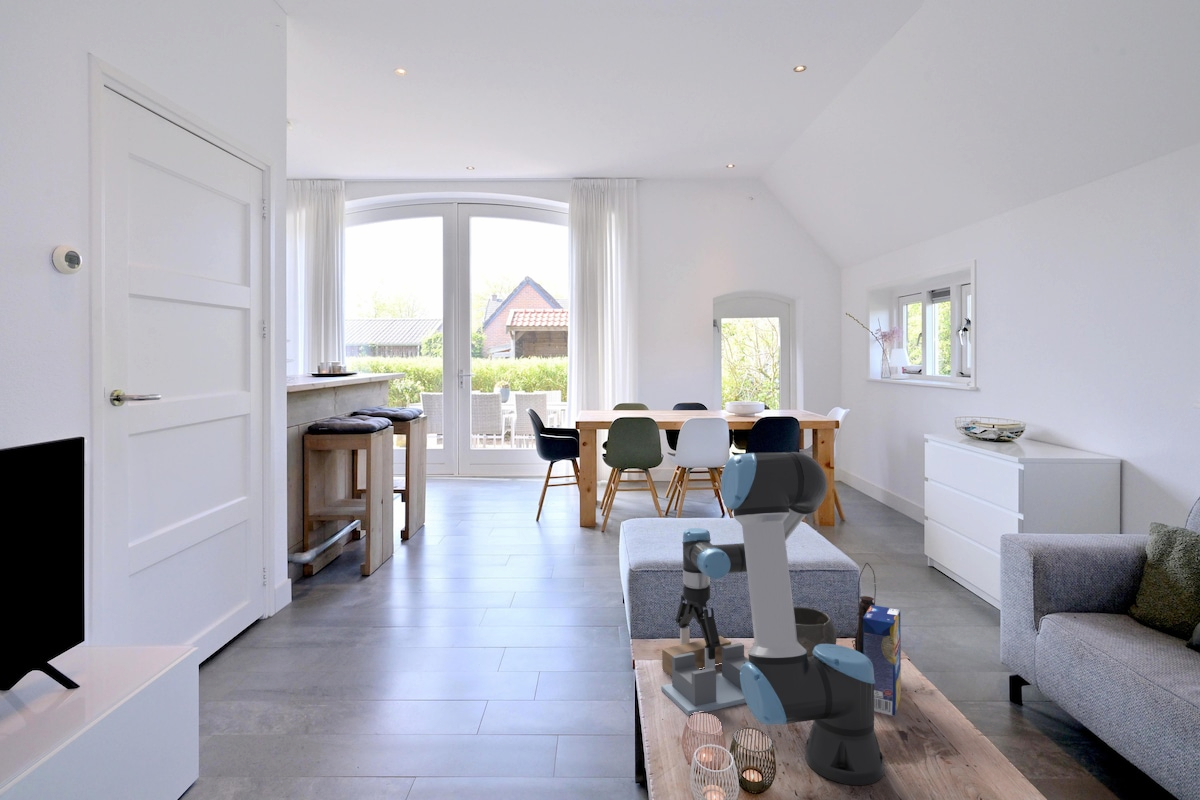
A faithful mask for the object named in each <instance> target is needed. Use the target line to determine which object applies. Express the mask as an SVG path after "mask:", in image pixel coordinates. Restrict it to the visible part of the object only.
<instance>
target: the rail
mask: <svg viewBox="0 0 1200 800" xmlns="http://www.w3.org/2000/svg"><path fill="white" fill-rule="evenodd" d="M718 636H719V641H720V647H715V664H719V663H722V646H727V645H732V641H731V640H729V639H727V638H725V637H723V636H722V635H718ZM709 643H710V642H709ZM705 646H706V642H705V639H704V638H703V639H701V640H696V641H692V642H691V641H690V643H687V644H683V645H680V644H679V645H674V646H671V647H665V648H662V649H661V650H662V651H661V652H662V653H661V656H662V657H661V658H662V659H661V660H662V661H661V662H662V663H661V665H662V669H663V670H664V671H663V670H662V669H661V670H662V671H663V672H665V673H666V672H667V673H666V674H668V675H669V674H670V675H671V676H670V675H669V676H670V677H672V656H674V655H679V654H684V653H690V652H693V653H694V654H695V666H696V667H698V668H703V667H705Z"/></svg>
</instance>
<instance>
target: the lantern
mask: <svg viewBox="0 0 1200 800" xmlns="http://www.w3.org/2000/svg"><path fill="white" fill-rule="evenodd" d="M866 566H869V568H871V570H872V573H873V578H874V580H873V581H874V582H876V575H875V571H874V569H873V568H872V566H871V565H870V563H869V562H866V563H865V564H864V566H863V568H862V570H861V571H860V573H859V574H860V575H859V578H858V582H857V585H858V586H857V602H858V603H857V605H858V608H857V609H858V612H857V614H856V616H858V618H857V620H858V621H857V622H858V623H857V630H856V633H855V638H854V640H851V643H852V647H853V649H854V650H856V651H858V652H860V653H862V654H863V617H864V616H865V614H866V612H867V611H868V609H869V607H870V606H871V605H875V606H876V597H871V596H868V595H867V596H866V595H862V596H860V595H859V594H860V582H861V581H860V580H861V577H862V576H861V575H862V574H863V572H864V569H865V567H866ZM876 587H877V586H876V585H874V595H876V593H877V592H876V591H877V589H876ZM859 599H860V600H859Z"/></svg>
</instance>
